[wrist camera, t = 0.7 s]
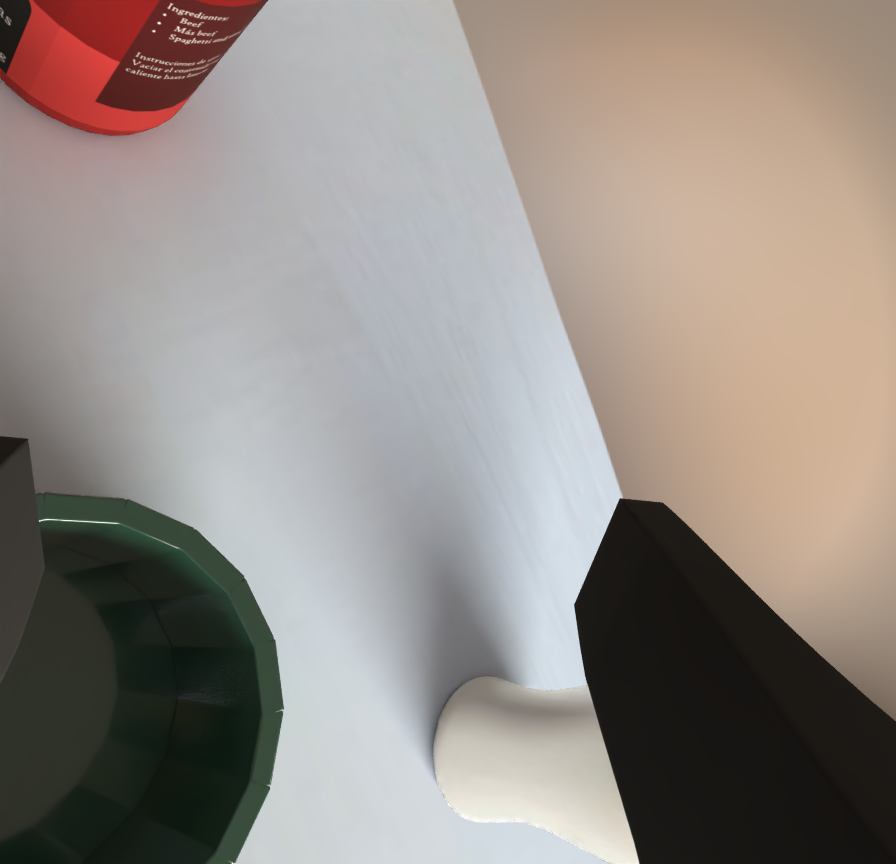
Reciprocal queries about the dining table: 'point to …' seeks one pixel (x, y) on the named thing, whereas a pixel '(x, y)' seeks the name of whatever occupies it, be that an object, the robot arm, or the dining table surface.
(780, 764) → the robot arm
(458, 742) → the beer glass
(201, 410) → the dining table surface
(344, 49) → the dining table surface
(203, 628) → the pot
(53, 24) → the canned food
